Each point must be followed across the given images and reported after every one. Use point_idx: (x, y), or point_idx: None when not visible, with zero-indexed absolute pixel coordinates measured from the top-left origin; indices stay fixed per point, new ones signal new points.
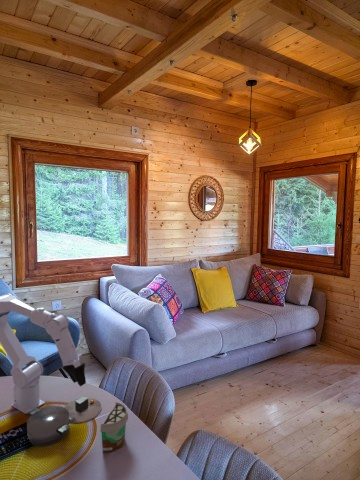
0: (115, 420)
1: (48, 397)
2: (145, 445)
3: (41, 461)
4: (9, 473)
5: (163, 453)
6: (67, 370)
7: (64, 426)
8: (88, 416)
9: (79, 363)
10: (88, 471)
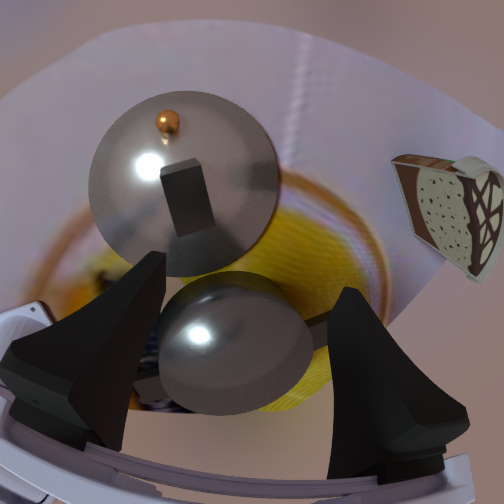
0: (492, 231)
1: (4, 274)
2: (463, 141)
3: (319, 359)
4: (296, 404)
5: (489, 136)
6: (123, 409)
7: (319, 330)
8: (261, 191)
9: (465, 473)
10: (418, 284)
